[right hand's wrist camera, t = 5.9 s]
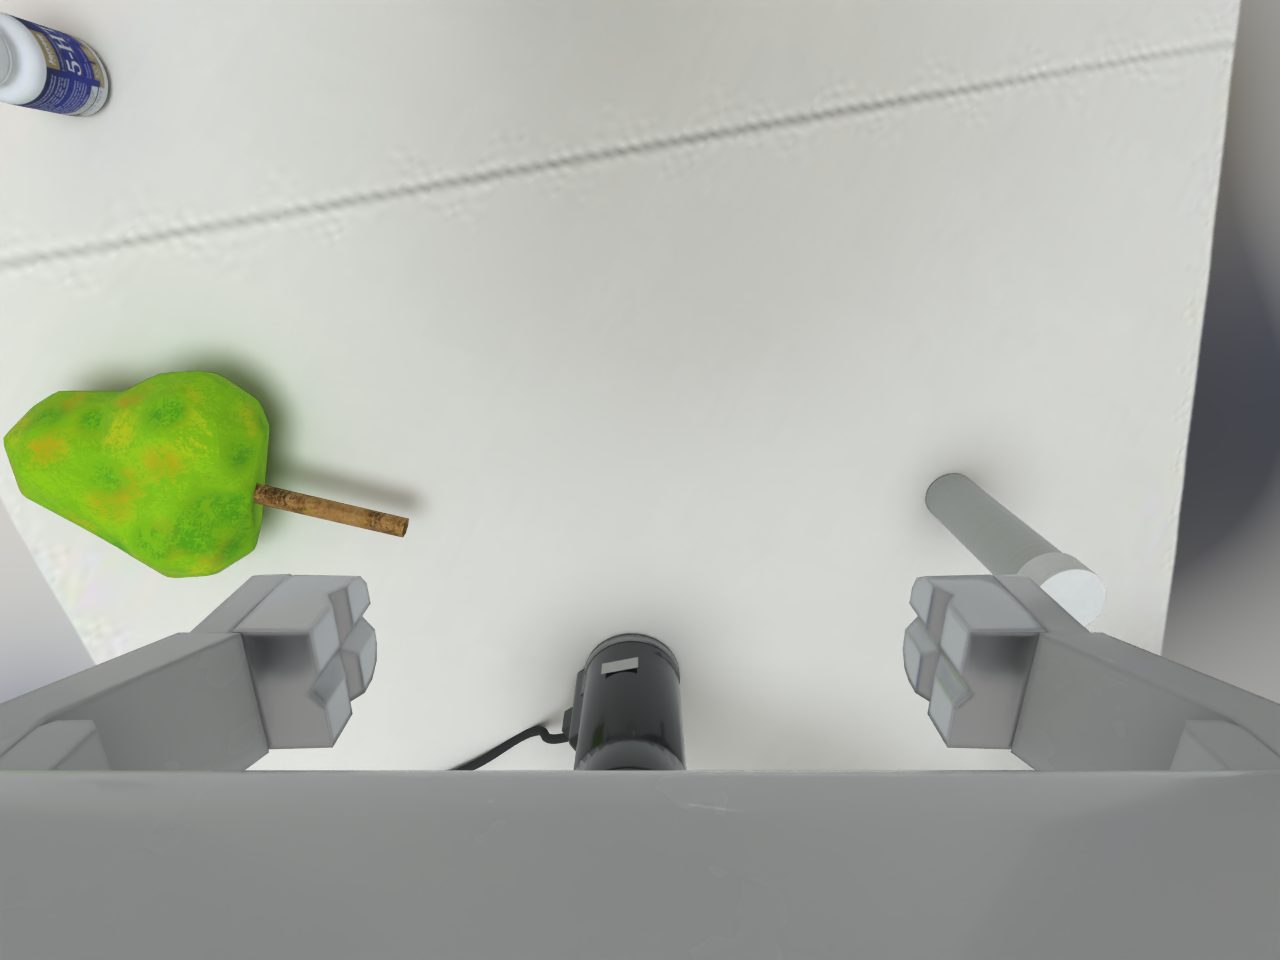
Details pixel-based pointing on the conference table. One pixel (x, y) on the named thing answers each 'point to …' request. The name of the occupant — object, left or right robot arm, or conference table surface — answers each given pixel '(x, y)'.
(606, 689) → the left robot arm
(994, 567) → the grey cylinder
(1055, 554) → the lid
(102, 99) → the pill bottle
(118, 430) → the decorative tree
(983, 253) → the conference table surface
